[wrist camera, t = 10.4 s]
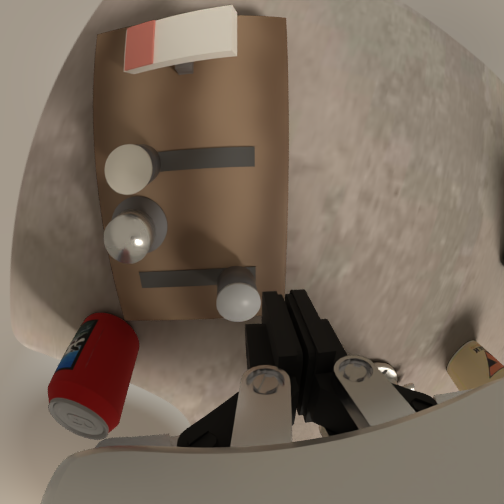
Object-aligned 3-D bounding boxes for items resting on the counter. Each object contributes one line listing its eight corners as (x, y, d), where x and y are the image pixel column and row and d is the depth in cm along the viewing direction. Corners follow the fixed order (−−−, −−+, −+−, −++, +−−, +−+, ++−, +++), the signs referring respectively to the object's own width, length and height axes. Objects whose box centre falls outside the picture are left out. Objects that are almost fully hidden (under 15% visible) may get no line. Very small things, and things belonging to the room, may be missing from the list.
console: (278, 31, 17) (291, 8, 13) (277, 295, 27) (287, 326, 22) (110, 44, 16) (88, 27, 12) (132, 302, 25) (119, 332, 21)
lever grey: (254, 259, 21) (260, 283, 18) (254, 293, 22) (260, 320, 19) (215, 261, 21) (214, 286, 18) (217, 295, 22) (218, 322, 19)
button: (153, 206, 18) (145, 214, 16) (158, 250, 19) (152, 262, 17) (110, 210, 18) (99, 218, 16) (117, 253, 19) (108, 264, 17)
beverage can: (82, 301, 25) (31, 384, 14) (142, 315, 26) (111, 412, 15) (87, 348, 27) (52, 428, 16) (141, 362, 28) (120, 450, 17)
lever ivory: (162, 140, 17) (149, 141, 14) (165, 182, 18) (153, 192, 15) (123, 146, 17) (102, 148, 13) (126, 186, 18) (107, 197, 15)
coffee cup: (484, 339, 37) (520, 377, 26) (456, 377, 40) (486, 416, 29) (467, 332, 34) (508, 376, 23) (434, 375, 37) (468, 421, 26)
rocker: (237, 12, 12) (231, 3, 11) (237, 56, 13) (230, 49, 12) (136, 34, 13) (124, 29, 12) (133, 74, 14) (121, 71, 13)
